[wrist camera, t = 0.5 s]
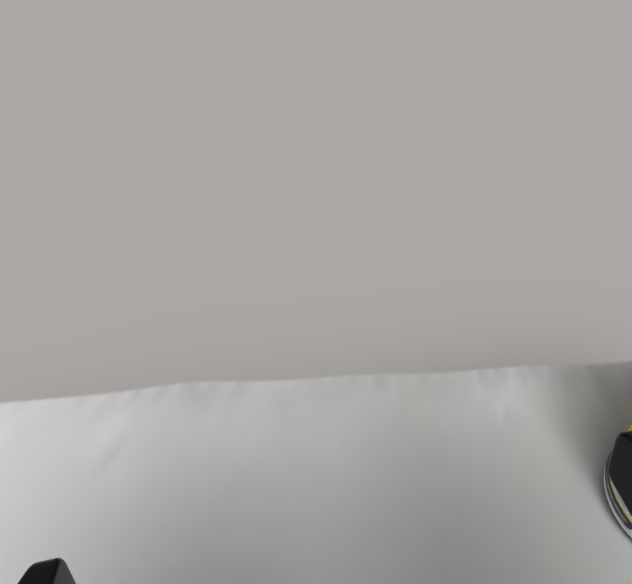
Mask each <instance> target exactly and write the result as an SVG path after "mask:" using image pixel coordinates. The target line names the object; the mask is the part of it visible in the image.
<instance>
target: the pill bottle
mask: <svg viewBox="0 0 632 584" xmlns="http://www.w3.org/2000/svg"><path fill="white" fill-rule="evenodd" d="M627 431H632V425H631V426H630V427H629V428H628V430H627ZM627 431H626V432H627ZM612 451H613V450H612ZM612 451H611V453H610V455H609V457H608V459H607V462H606V465H605V469H604V487H605V492H606V496H607V499H608V502H609V505H610V507H611V509H612V511H613V513H614V515H615V517H616V519H617V520H618V522H619V523H620V525H621V526H622V527H623V529H624V530H625V531H626V532H627V534H628V535H629V536H630V537H631V538H632V516H631V514H630V513H629V511H628V509H627V507H626V506H625V504H624V502H623V500H622V499H621V497H620V495H619V493H618V492H617V490H616V488H615V486H614V485H613V483H612V481H611V479H610V476H609V472H608V465H609V461H610V457H611V454H612Z"/></svg>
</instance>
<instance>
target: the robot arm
mask: <svg viewBox="0 0 632 584" xmlns="http://www.w3.org/2000/svg"><path fill="white" fill-rule="evenodd" d="M608 472H609V476H610V479H611V481H612V483H613V485H614V486H615V488H616V490H617V492H618V493H619V495H620V497H621V499H622V500H623V502H624V504H625V506H626V507H627V509H628V511H629V513H630V514H631V516H632V431H627V432H623V433H620V434H619V435H618V436H617V438H616V440H615V444H614V447H613V451H612V454H611V457H610V461H609V465H608ZM18 584H76V583H75V581H74V579H73V577H72V575H71V572H70V570H69V568H68V566H67V564H66V563H65V561H64V560H63V559H61V558H55V559H50V560H46V561H41V562H37V563H35V564H33V565H32V566H30V567H29V568H28V569H27V571H26V572H25V574H24V575H23V576H22V578H21V579H20V581H19V582H18Z"/></svg>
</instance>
